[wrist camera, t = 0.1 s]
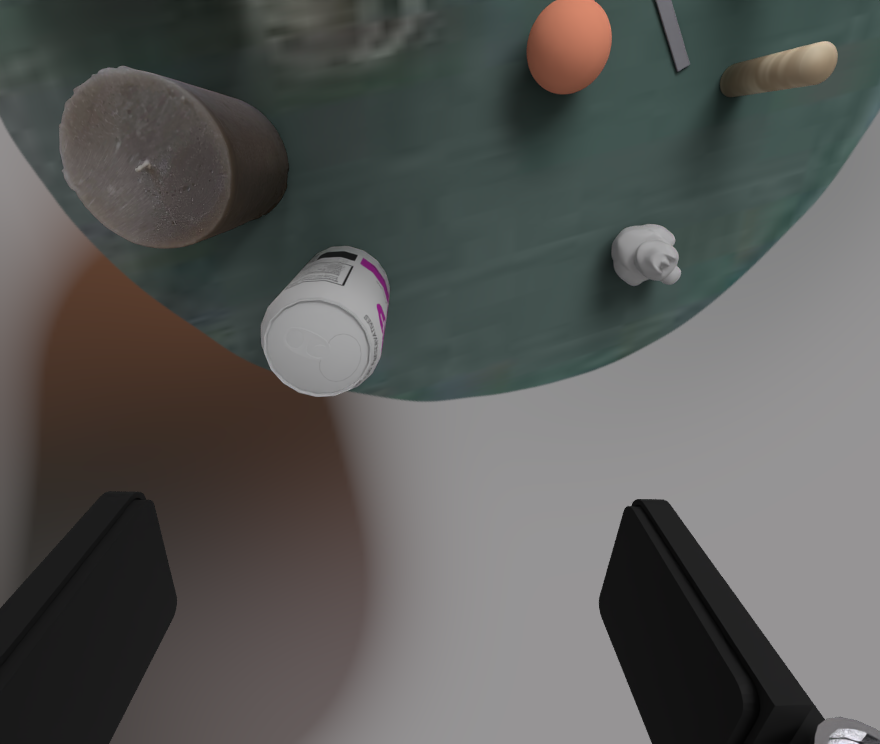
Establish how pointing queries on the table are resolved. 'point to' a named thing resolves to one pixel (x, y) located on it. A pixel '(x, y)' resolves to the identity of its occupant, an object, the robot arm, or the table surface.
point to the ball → (569, 45)
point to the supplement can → (328, 323)
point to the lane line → (673, 33)
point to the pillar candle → (168, 158)
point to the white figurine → (645, 255)
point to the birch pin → (780, 70)
